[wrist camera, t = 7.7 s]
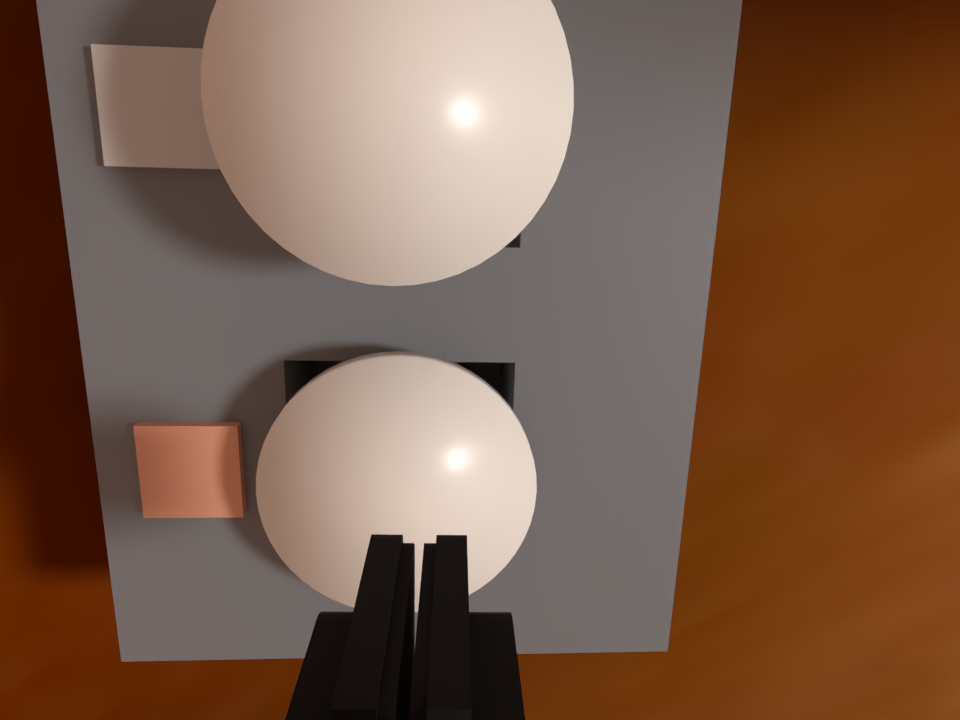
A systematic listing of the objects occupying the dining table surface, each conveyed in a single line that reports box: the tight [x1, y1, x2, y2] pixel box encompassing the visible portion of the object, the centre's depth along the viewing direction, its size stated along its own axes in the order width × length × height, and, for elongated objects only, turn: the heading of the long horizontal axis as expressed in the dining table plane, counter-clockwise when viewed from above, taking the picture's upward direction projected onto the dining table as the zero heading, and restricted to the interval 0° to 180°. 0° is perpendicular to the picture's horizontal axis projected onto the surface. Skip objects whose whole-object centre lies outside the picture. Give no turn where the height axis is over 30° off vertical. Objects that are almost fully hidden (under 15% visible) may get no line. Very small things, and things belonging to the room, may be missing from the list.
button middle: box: [201, 0, 574, 286], centre depth 15 cm, size 7×7×5 cm
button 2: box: [256, 351, 537, 612], centre depth 20 cm, size 7×7×5 cm
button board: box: [36, 0, 743, 662], centre depth 18 cm, size 16×30×5 cm, turn 178°
